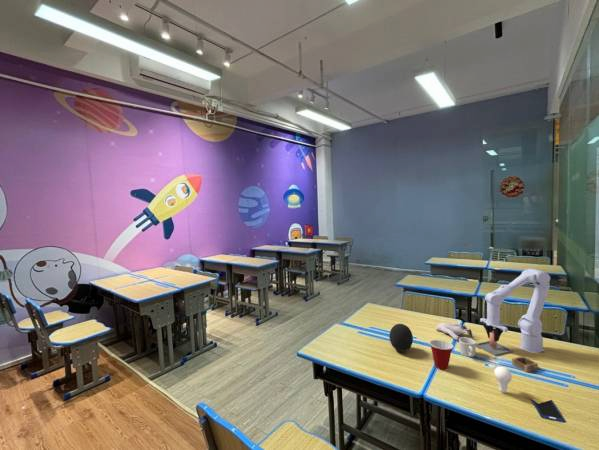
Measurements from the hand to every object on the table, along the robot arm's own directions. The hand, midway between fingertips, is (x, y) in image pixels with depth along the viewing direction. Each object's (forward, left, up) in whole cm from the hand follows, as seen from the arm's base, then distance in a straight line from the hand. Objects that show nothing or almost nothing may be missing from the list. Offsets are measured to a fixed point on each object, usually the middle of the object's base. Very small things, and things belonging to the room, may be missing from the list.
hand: (493, 339), depth 153 cm
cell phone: (+21, +40, -6) cm, 46 cm away
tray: (0, 0, -6) cm, 6 cm away
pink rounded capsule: (0, 0, -4) cm, 4 cm away
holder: (+2, +18, -6) cm, 19 cm away
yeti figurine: (+5, -22, -6) cm, 24 cm away
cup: (+18, +1, -6) cm, 19 cm away
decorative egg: (+47, -16, -6) cm, 50 cm away
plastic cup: (+38, +4, -6) cm, 39 cm away
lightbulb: (+28, +28, -6) cm, 40 cm away
